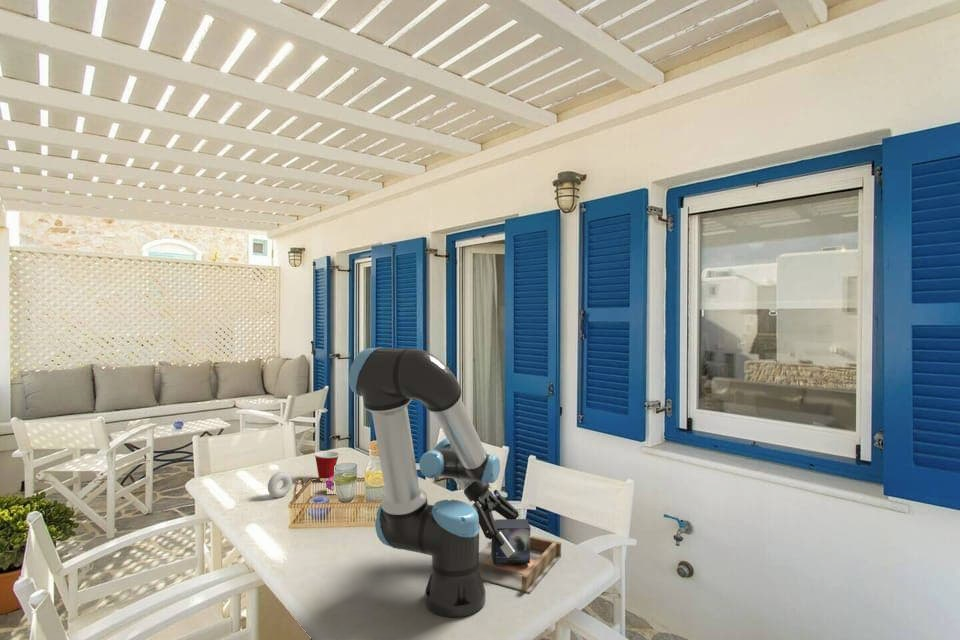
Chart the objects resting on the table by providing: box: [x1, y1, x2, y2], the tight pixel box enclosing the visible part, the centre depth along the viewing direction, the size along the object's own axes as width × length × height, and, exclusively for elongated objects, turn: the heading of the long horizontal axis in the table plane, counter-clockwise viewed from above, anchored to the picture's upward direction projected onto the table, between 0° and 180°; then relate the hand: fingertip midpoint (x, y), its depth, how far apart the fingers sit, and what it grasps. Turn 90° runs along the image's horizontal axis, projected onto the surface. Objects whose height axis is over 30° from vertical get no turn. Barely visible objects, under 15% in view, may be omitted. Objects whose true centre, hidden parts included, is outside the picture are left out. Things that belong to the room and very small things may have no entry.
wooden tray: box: [479, 535, 562, 594], centre depth 144 cm, size 24×22×4 cm
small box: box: [490, 518, 532, 564], centre depth 144 cm, size 11×6×10 cm, turn 96°
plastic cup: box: [313, 450, 340, 479], centre depth 221 cm, size 11×11×12 cm
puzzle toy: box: [325, 476, 335, 491], centre depth 205 cm, size 6×6×6 cm
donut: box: [267, 471, 293, 499], centre depth 199 cm, size 10×4×10 cm, turn 143°
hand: (519, 546), depth 143 cm, fingers closed on small box, 10 cm apart
